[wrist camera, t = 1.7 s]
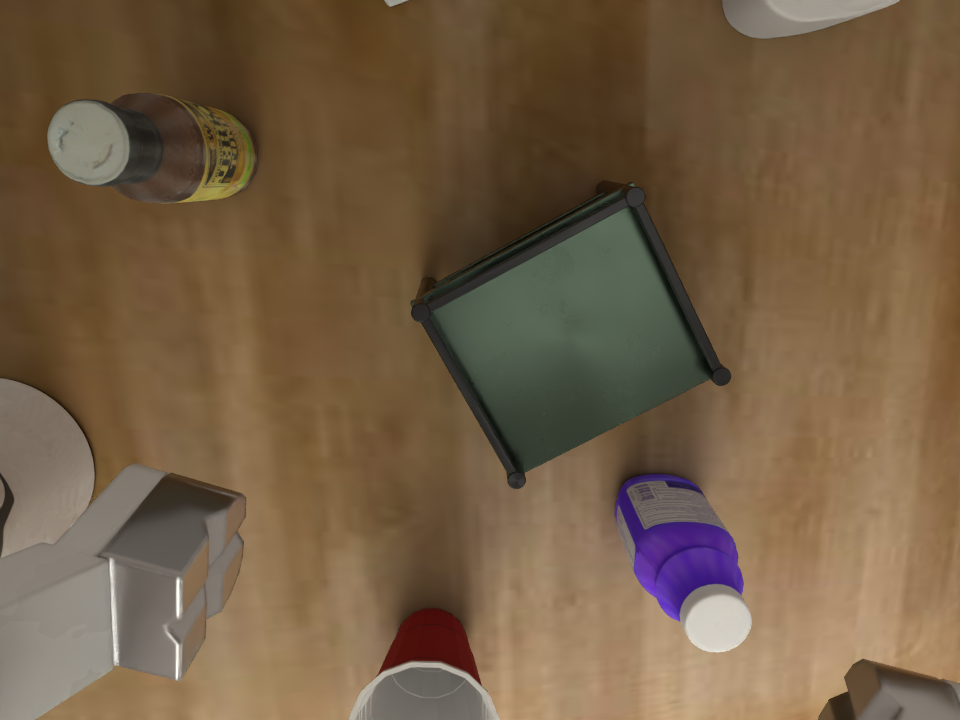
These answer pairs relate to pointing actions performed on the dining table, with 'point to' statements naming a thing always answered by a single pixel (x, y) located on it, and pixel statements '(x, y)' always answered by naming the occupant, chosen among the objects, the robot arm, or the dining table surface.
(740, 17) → the lumpy-topped squat cylinder
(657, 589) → the bottle
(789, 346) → the dining table surface
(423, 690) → the plastic cup
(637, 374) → the tray
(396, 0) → the small box
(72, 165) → the sauce bottle
